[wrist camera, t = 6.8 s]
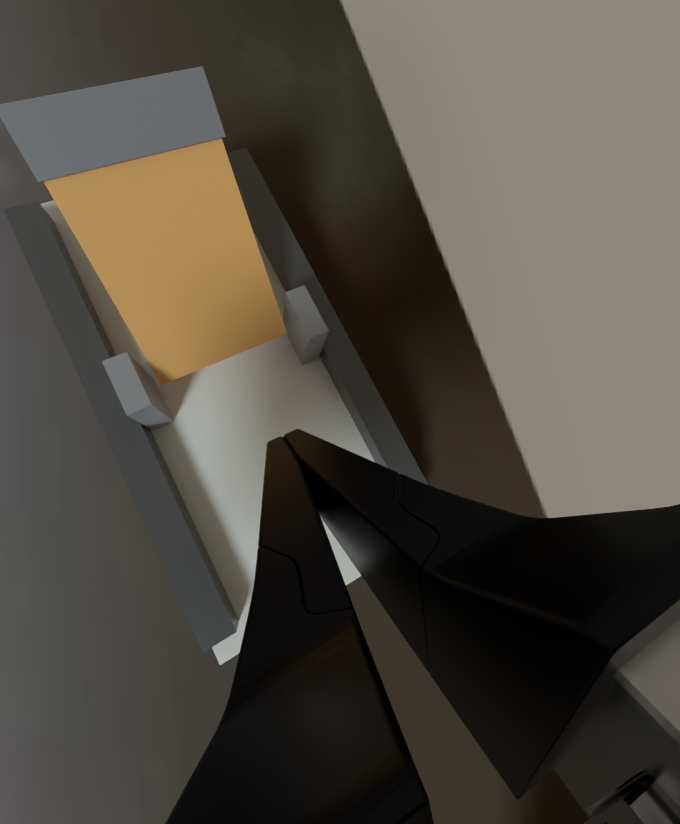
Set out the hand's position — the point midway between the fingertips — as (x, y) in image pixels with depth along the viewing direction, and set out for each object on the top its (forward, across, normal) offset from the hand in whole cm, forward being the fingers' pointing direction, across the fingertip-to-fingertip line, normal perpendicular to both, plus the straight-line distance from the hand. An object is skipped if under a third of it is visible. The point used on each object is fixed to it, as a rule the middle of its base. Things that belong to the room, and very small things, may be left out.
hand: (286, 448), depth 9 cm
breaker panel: (+10, 0, +3) cm, 10 cm away
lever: (+7, 0, 0) cm, 7 cm away
